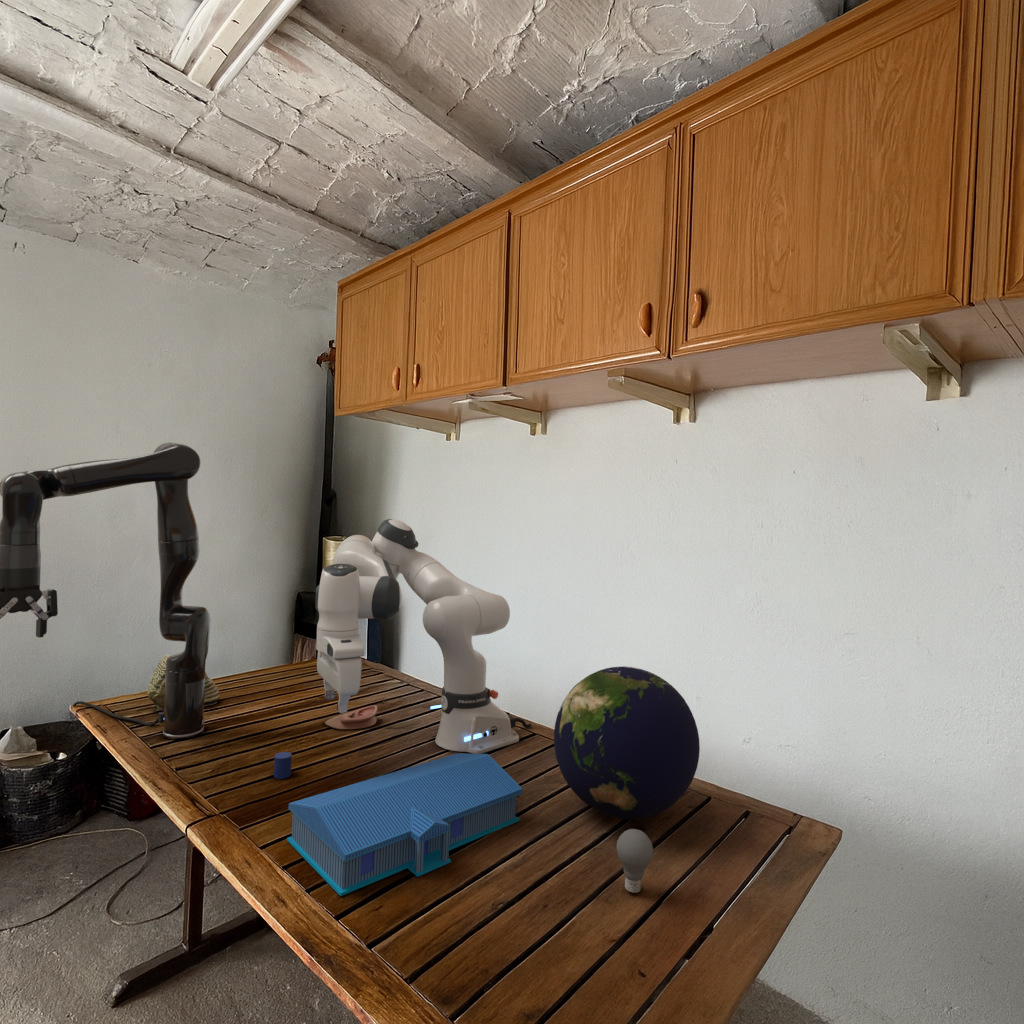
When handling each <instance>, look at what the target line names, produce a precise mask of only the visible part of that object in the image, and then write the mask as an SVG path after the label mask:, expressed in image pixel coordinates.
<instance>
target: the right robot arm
mask: <svg viewBox="0 0 1024 1024" xmlns="http://www.w3.org/2000/svg"><path fill="white" fill-rule="evenodd" d="M417 548H419V541H418V540H417V538H416V534H415V533H414V530H413V528H411V526H409V525H408V524H407V523H405V522H404V521H401V520H399V519H392V518H388V519H385V520H383V521H382V522H381V523H380V524H379V525H378V528H377V529H376V533H375V534H374V536H373V538H372V541H371V539H370V538H369V537H367V536H365V535H362V534H353V535H350V536H348V537H346V538H345V539H344V540H342V541H341V543H340V544H339V545H338V547H337V548H336V550H335V552H334V554H333V557H332V564H328V565H327V566H325V567H323V568H322V571H321V575H320V580H319V584H318V585H317V586H316V588H315V601H314V608H315V610H316V611H317V612H318V621H317V625H316V642H315V643H316V647H315V650H317V660H316V671H317V674H318V675H319V676H320V677H321V678H322V680H323V687H324V698H325V699H326V700H327V701H329V700H331V701H333V700H334V699H335V697H336V693H337V695H338V701H337V702H336V710H337V712H338V713H340V714H346V713H348V707H349V706H348V704H349V701H350V699H351V696H357V695H358V694H359V691H360V688H361V678H362V665H363V663H362V658H361V657H364V656H365V646H364V644H363V641H362V640H361V634H360V629H361V628H360V625H361V624H360V621H359V619H360V620H361V619H364V620H365V619H370V620H371V619H372V620H373V619H374V620H381V621H389V620H391V619H392V618H394V617H395V616H396V615H397V614H398V613H399V612H400V608H401V606H402V601H403V600H402V599H403V598H402V597H403V595H402V594H403V593H402V589H401V586H400V583H399V581H398V580H397V579H398V577H399V575H400V574H401V575H402V576H403V578H404V580H405V582H406V584H407V585H408V586H409V588H410V589H411V590H412V591H413V592H414V593H415V595H417V596H418V597H419V599H421V600H422V601H423V602H424V603H425V607H424V609H423V612H422V624H423V627H424V630H425V632H426V633H427V635H429V636H430V637H431V638H432V639H433V640H434V641H435V642H436V643H437V645H438V646H439V649H440V651H441V655H442V658H443V687H442V688H441V700H440V704H439V705H432V706H430V710H434V709H440V708H441V714H440V721H439V726H438V730H437V733H436V737H435V740H434V742H435V744H436V745H437V746H439V747H440V748H442V749H445V750H448V751H453V752H461V753H462V752H463V753H468V754H486V753H488V752H491V751H494V750H497V749H500V748H503V747H507V746H510V745H512V744H516V743H519V741H520V735H519V733H517V732H516V730H514V729H515V728H516V727H517V723H520V724H521V725H522V726H523V727H524V728H525V729H529V728H532V723H526V721H525V720H524V719H522V718H520V717H514V716H512V715H510V714H509V713H506V712H505V711H504V710H503V709H502V708H500V707H499V706H498V705H497V704H496V703H494V702H493V701H492V700H491V698H492V699H493V700H496V699H498V697H499V692H498V691H497V690H495V689H490V688H489V687H487V686H486V685H487V684H486V683H487V682H486V681H487V660H486V658H485V656H484V655H483V653H480V651H478V650H476V649H475V648H474V646H473V637H476V636H485V635H490V634H493V633H496V632H498V631H501V630H502V629H504V628H506V626H507V625H508V624H509V620H510V617H511V609H510V605H509V602H508V601H507V600H506V598H504V596H502V595H500V594H496V593H493V592H489V591H486V590H484V589H481V588H480V587H477V586H474V584H471V583H468V582H467V581H464V580H462V579H460V578H459V577H457V575H455V574H454V573H453V572H451V571H450V570H449V569H447V567H446V566H445V565H443V564H442V563H441V562H440V561H438V560H437V559H435V558H434V557H433V556H430V555H429V554H427V553H425V552H421V551H418V550H417Z"/></svg>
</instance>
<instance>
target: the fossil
mask: <svg viewBox="0 0 1024 1024" xmlns="http://www.w3.org/2000/svg"><path fill="white" fill-rule="evenodd" d="M171 655H172V654H165V655H164V656H163V657H162V658H161V659H160V660H159V662H158V663H157V666H156V667H155V669H154V670H153V672H152V675H151V677H150V680H149V684H148V688H147V697H148V699H149V700H150V701H152V703H153V704H154V706H155V711H158V712H159V711H160V712H163V711H164V705H165V674H166V660H167V658H168V657H169V656H171ZM220 698H221V696H220V690H219V688H218V686H217V685H216V683H215V682H214V681H213V679H212V678H211V677H209V675H208V674H207V672H206V671H205V693H204V707H207V706H213V705H215V704H217V703H218V701H219V699H220Z"/></svg>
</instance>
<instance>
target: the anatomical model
mask: <svg viewBox="0 0 1024 1024" xmlns="http://www.w3.org/2000/svg"><path fill="white" fill-rule="evenodd" d="M377 713H378V706H377V705H375V704H374V705H369V706H368V705H367V706H366V707H361V708H358V709H355V710H351V711H349V712H345V713H342V714H339V715H336V716H334V717H331V718H329V719H327V720H326V721H325V722H324V724H325V725H326V726H328V727H330V728H333V729H337V730H356V729H357V730H358V729H363V728H369V727H372V726H374V725H376V723H377V721H378V719H377V717H376V715H377Z"/></svg>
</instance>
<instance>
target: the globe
mask: <svg viewBox="0 0 1024 1024" xmlns="http://www.w3.org/2000/svg"><path fill="white" fill-rule="evenodd" d="M699 735H700V734H699V729H698V726H697V722H696V720H695V717H694V714H693V713H692V710H691V708H690V706H689V704H688V703H687V702H686V700H685V698H684V697H683V696H682V694H681V693H680V692H679V691H678V690H677V688H675V687H674V686H673V685H672V684H670V682H668V681H667V680H665V679H664V678H663V677H661V676H659V675H657V674H656V673H653V672H651V671H648V670H645V669H643V668H639V667H634V666H627V665H625V666H612V667H611V666H610V667H606V668H603V669H600V670H597V671H595V672H593V673H590V674H588V675H587V676H586V677H584V678H583V679H581V680H580V681H579V682H577V683H576V684H575V685H574V686H573V687H572V688H571V689H570V690H569V692H568V693H567V694H566V696H565V698H564V699H563V701H562V703H561V705H560V707H559V710H558V712H557V715H556V718H555V723H554V730H553V746H554V754H555V759H556V762H557V765H558V768H559V770H560V772H561V775H562V776H563V779H564V780H565V782H566V784H567V785H568V787H569V788H570V789H571V791H572V792H573V794H575V795H576V796H577V798H579V800H581V801H582V802H583V803H585V804H586V805H587V806H588V807H591V809H593V810H595V811H596V812H598V813H601V814H603V815H606V816H608V817H612V818H616V819H621V820H641V819H646V818H651V817H653V816H656V815H658V814H661V813H663V812H664V811H666V810H668V809H669V808H671V807H672V806H674V805H675V803H677V802H678V801H679V800H680V799H681V798H682V797H683V796H684V794H685V793H686V792H687V790H688V789H689V787H690V786H691V784H692V782H693V781H694V778H695V775H696V772H697V769H698V766H699V760H700V736H699Z"/></svg>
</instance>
